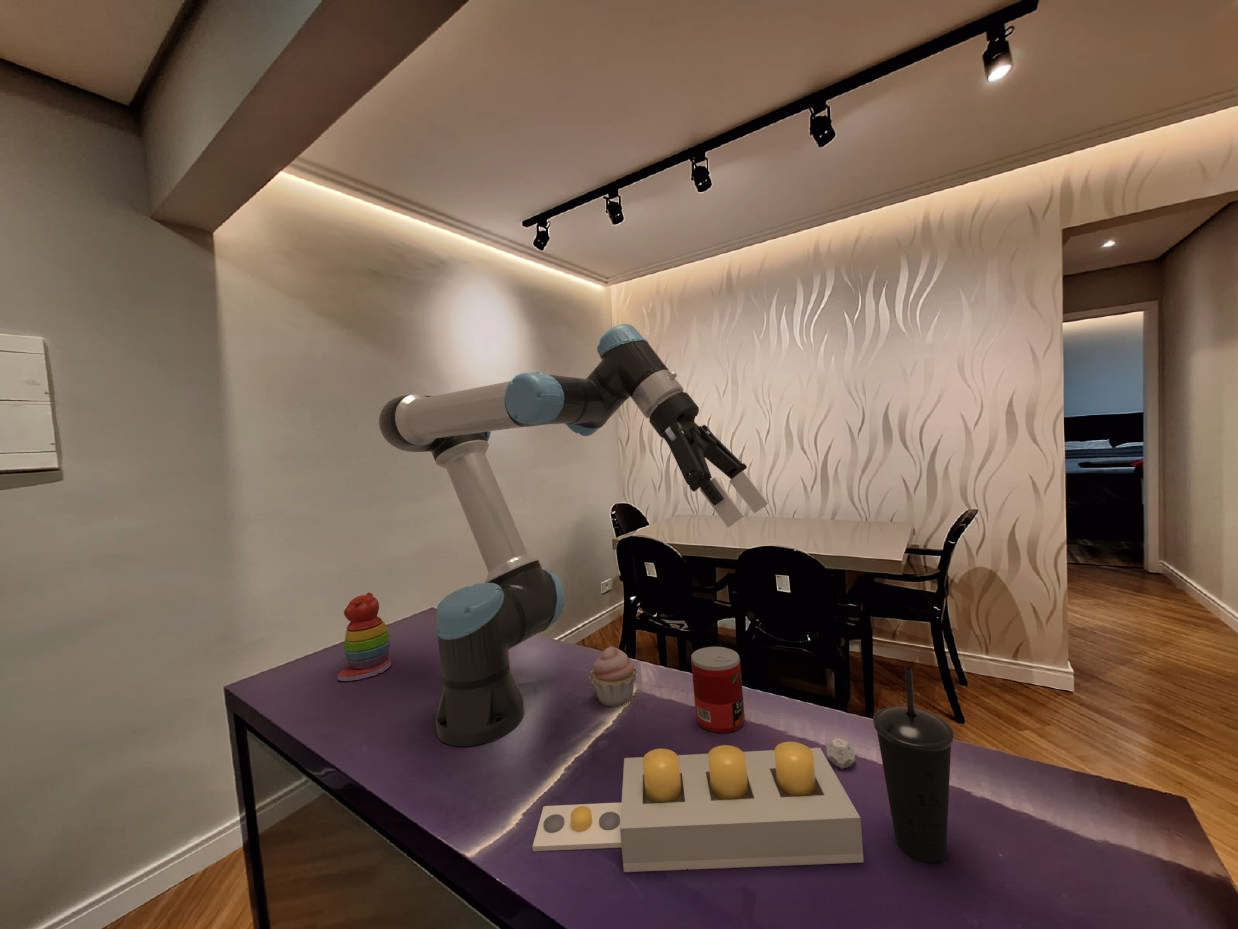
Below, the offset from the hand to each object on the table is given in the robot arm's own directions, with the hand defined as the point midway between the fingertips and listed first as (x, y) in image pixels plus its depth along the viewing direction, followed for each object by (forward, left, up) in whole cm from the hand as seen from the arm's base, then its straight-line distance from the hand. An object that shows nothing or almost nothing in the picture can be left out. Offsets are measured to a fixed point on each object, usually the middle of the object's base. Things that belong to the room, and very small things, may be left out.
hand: (750, 514), depth 71 cm
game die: (+9, -4, -36) cm, 37 cm away
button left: (-16, -14, -31) cm, 37 cm away
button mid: (-8, -14, -31) cm, 35 cm away
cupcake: (-24, +17, -35) cm, 46 cm away
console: (-8, -14, -35) cm, 39 cm away
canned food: (-6, +8, -35) cm, 37 cm away
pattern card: (-26, -14, -35) cm, 46 cm away
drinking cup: (+12, -18, -35) cm, 42 cm away
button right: (0, -14, -31) cm, 34 cm away
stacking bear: (-83, +36, -35) cm, 97 cm away
